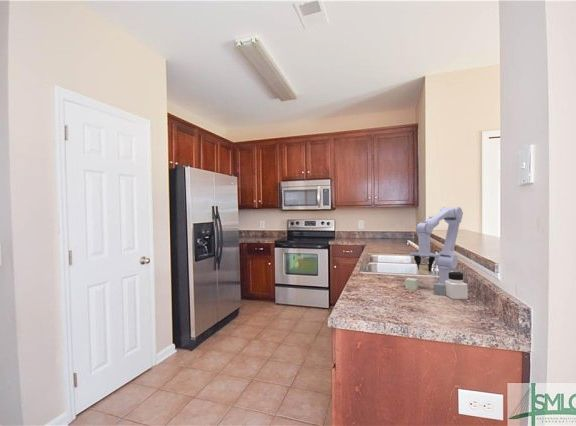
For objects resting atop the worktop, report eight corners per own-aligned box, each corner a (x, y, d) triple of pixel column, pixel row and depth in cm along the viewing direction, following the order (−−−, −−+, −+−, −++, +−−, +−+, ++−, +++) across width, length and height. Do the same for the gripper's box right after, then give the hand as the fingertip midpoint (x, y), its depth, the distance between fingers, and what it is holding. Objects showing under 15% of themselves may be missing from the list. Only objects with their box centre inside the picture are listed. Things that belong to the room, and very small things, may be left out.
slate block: (433, 292, 143) (433, 282, 143) (443, 293, 141) (443, 283, 141) (434, 294, 139) (434, 284, 139) (444, 295, 137) (444, 285, 137)
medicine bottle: (468, 299, 131) (467, 273, 131) (452, 299, 131) (452, 273, 131) (459, 294, 138) (458, 270, 138) (444, 294, 138) (444, 270, 138)
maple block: (421, 272, 153) (421, 263, 153) (430, 273, 150) (430, 264, 150) (419, 274, 150) (418, 264, 150) (428, 275, 147) (428, 265, 147)
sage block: (408, 286, 154) (408, 277, 154) (417, 288, 151) (417, 278, 151) (405, 288, 150) (405, 279, 150) (415, 290, 147) (415, 280, 147)
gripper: (407, 245, 152) (408, 270, 152) (437, 246, 143) (438, 273, 143) (411, 244, 157) (411, 268, 157) (440, 245, 148) (440, 271, 148)
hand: (424, 270), depth 150 cm, fingers closed on maple block, 4 cm apart
